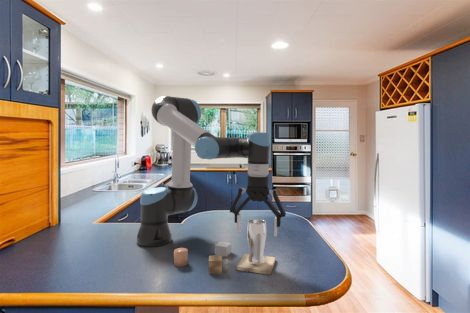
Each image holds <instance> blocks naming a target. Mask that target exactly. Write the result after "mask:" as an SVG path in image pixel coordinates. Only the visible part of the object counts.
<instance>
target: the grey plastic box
mask: <svg viewBox="0 0 470 313" xmlns="http://www.w3.org/2000/svg"><path fill="white" fill-rule="evenodd" d="M232 245H233V244H232V242H227V241H222V240H220V241H219V242H218V243H216V244H214V256H216V255H222V257H224V256H226V257H225V258H227V257H228V256H230V254H232V251H233V250H232Z"/></svg>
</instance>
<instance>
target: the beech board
mask: <svg viewBox="0 0 470 313" xmlns="http://www.w3.org/2000/svg"><path fill="white" fill-rule="evenodd" d="M248 258H249V253H244V254H243V256H242V258H241V259H240V260H239V262H238V263H237V265H236V270H237V271H242V272H248V271H249V272H248V273H256V274H264V275H272V271H273V268H274V267H275V266H274V265H275V262H276V257H275V256H268V255H267V256H266V255H264V260H265V262H264V264H262V265H252V264H250V263H249V262H248Z"/></svg>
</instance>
